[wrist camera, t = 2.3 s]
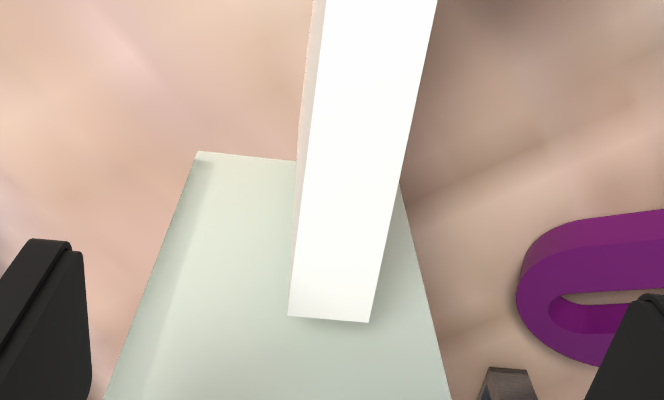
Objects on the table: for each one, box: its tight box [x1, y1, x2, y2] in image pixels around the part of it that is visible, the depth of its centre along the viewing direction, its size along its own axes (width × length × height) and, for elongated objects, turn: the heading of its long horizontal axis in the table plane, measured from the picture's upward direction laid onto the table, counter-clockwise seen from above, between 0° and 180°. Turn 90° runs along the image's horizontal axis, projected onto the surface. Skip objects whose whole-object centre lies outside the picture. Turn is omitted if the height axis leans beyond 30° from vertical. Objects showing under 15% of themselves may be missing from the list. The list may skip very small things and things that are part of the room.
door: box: [287, 0, 437, 323], centre depth 22 cm, size 10×3×14 cm, turn 172°
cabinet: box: [103, 151, 452, 400], centre depth 27 cm, size 10×14×18 cm
